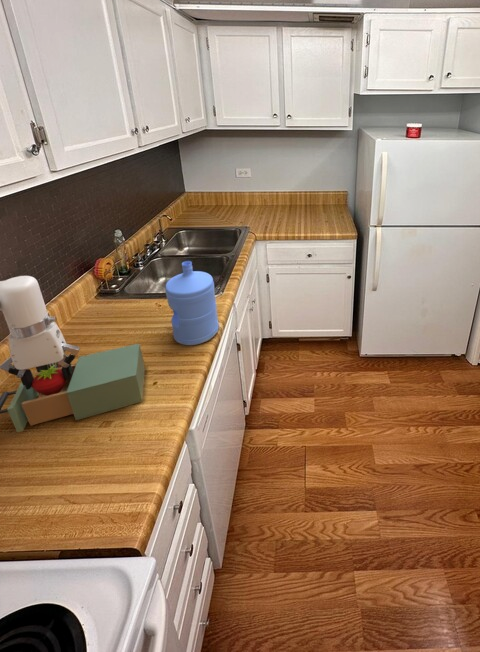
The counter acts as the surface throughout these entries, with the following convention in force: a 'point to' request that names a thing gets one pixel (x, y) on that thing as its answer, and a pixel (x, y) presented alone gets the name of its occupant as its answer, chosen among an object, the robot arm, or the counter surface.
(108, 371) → the cabinet
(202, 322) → the water jug
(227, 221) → the counter surface
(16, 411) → the drawer
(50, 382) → the strawberry
